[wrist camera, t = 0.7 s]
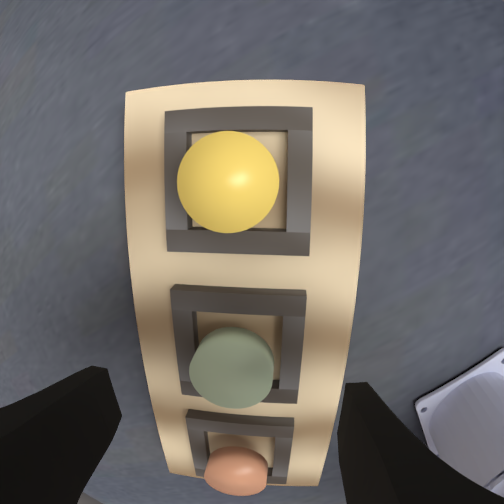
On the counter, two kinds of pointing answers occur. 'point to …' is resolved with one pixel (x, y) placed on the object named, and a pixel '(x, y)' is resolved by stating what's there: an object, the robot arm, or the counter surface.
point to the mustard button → (228, 181)
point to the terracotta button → (236, 471)
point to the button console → (248, 265)
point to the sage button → (232, 368)
